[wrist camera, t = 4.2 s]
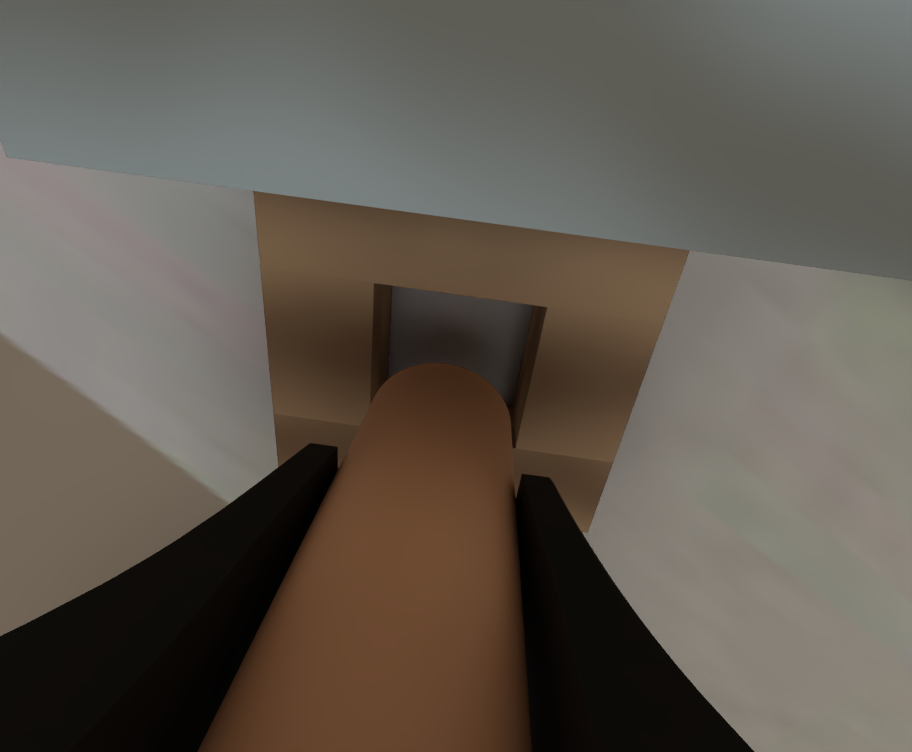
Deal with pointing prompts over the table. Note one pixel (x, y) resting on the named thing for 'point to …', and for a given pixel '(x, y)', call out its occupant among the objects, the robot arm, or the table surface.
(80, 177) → the table surface
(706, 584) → the table surface
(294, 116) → the socket block
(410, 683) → the peg
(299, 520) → the robot arm
